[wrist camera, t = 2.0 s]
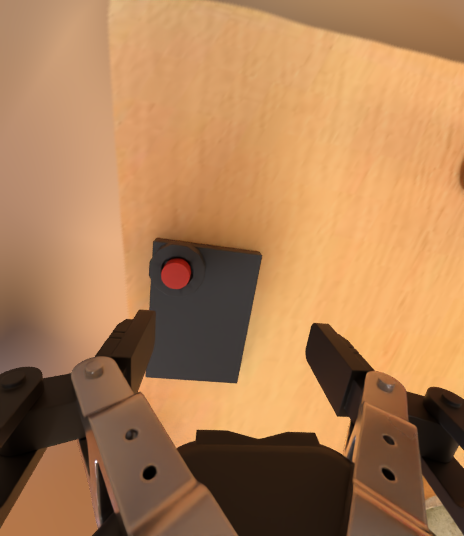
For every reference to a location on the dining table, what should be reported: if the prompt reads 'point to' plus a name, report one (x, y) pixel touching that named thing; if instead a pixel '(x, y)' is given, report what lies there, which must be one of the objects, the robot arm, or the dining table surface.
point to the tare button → (176, 273)
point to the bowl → (438, 514)
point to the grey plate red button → (202, 311)
